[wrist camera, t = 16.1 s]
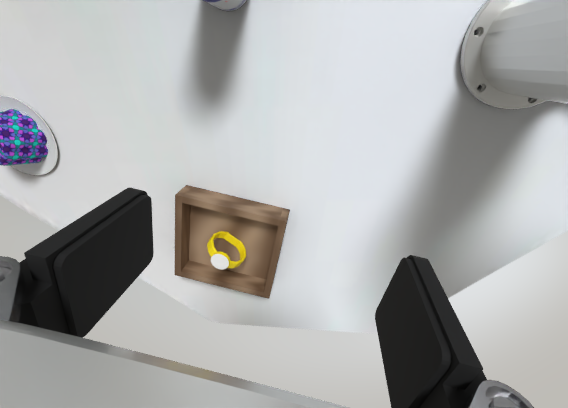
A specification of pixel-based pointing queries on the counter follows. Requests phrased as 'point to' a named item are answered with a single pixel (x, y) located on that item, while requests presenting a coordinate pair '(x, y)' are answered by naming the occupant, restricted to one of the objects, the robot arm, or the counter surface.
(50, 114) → the counter surface
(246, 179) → the counter surface
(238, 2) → the energy drink
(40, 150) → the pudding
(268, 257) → the box
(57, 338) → the robot arm
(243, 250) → the watch
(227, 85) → the counter surface
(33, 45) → the counter surface
